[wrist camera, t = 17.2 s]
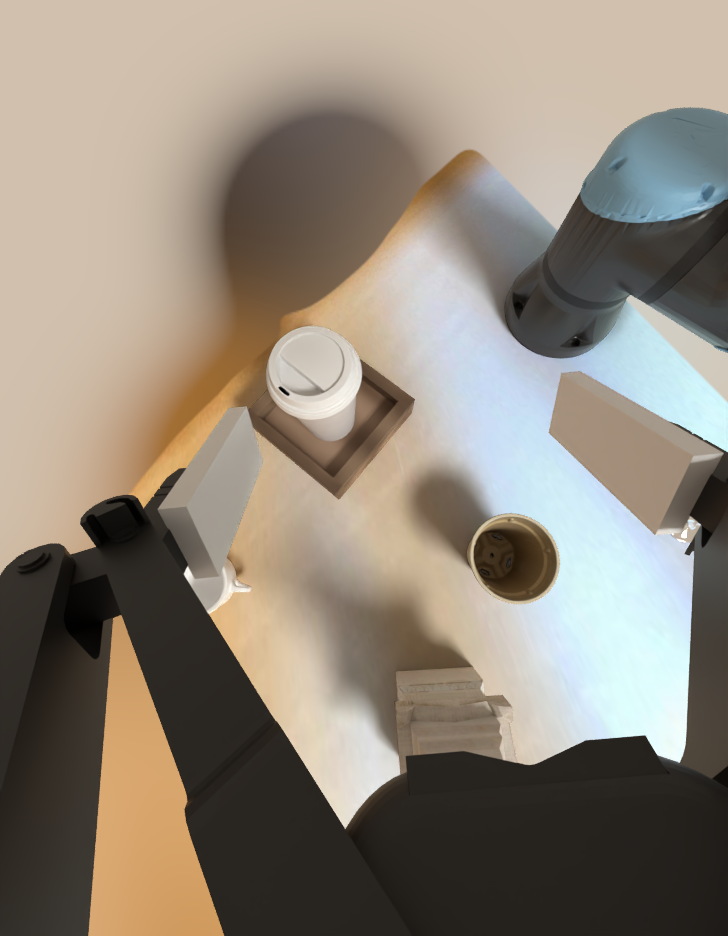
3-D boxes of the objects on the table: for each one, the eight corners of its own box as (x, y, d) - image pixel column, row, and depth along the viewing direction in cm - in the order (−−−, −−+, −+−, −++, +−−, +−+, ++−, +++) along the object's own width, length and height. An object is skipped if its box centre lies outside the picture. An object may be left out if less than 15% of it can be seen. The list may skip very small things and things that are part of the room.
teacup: (179, 604, 47) (154, 612, 41) (193, 545, 48) (170, 546, 43) (253, 617, 46) (237, 626, 41) (265, 556, 47) (250, 558, 42)
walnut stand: (327, 350, 53) (321, 330, 48) (411, 413, 51) (414, 399, 46) (254, 429, 51) (241, 417, 46) (339, 499, 48) (334, 494, 44)
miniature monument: (391, 667, 44) (417, 918, 15) (475, 662, 44) (675, 907, 14) (398, 764, 42) (447, 1288, 12) (487, 759, 41) (752, 1282, 12)
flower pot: (455, 593, 45) (473, 604, 37) (451, 519, 47) (467, 514, 39) (530, 592, 45) (565, 604, 37) (522, 518, 47) (554, 512, 39)
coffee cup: (284, 404, 48) (243, 344, 34) (346, 373, 49) (333, 302, 34) (314, 464, 47) (284, 429, 32) (378, 432, 47) (379, 382, 32)
